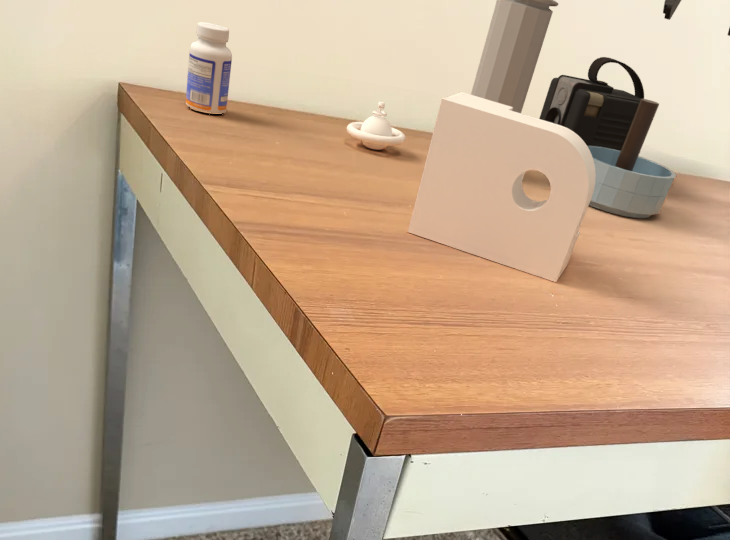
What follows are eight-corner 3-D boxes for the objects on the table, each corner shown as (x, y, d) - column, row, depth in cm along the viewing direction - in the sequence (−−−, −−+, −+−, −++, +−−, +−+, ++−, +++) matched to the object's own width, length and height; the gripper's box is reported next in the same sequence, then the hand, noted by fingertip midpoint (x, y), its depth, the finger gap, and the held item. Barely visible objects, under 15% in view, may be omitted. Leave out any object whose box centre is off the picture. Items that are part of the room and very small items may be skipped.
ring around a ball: (408, 160, 109) (395, 144, 115) (417, 113, 106) (404, 99, 112) (349, 152, 108) (340, 136, 114) (357, 104, 104) (347, 90, 110)
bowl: (613, 189, 121) (629, 149, 118) (677, 222, 112) (696, 180, 109) (545, 183, 115) (559, 142, 112) (607, 218, 106) (625, 174, 103)
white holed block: (407, 232, 85) (441, 98, 77) (436, 211, 93) (470, 88, 85) (555, 282, 82) (606, 148, 74) (572, 256, 90) (620, 133, 82)
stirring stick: (613, 192, 115) (650, 98, 108) (632, 202, 113) (671, 107, 105) (592, 191, 113) (628, 95, 106) (611, 201, 111) (650, 104, 104)
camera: (518, 152, 128) (553, 42, 119) (591, 162, 133) (629, 58, 124) (553, 174, 121) (593, 59, 112) (629, 184, 126) (673, 75, 117)
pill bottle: (214, 105, 112) (223, 23, 107) (233, 117, 109) (242, 33, 103) (178, 102, 110) (184, 18, 104) (195, 114, 106) (203, 28, 100)
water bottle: (505, 179, 112) (574, -41, 97) (449, 165, 112) (510, -57, 97) (504, 164, 119) (569, -43, 104) (451, 151, 119) (508, -58, 104)
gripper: (709, -116, 107) (650, -16, 106) (821, -93, 103) (761, 12, 101) (698, -62, 115) (643, 31, 113) (802, -39, 110) (746, 59, 109)
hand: (699, 22), depth 107 cm, fingers open, 8 cm apart
